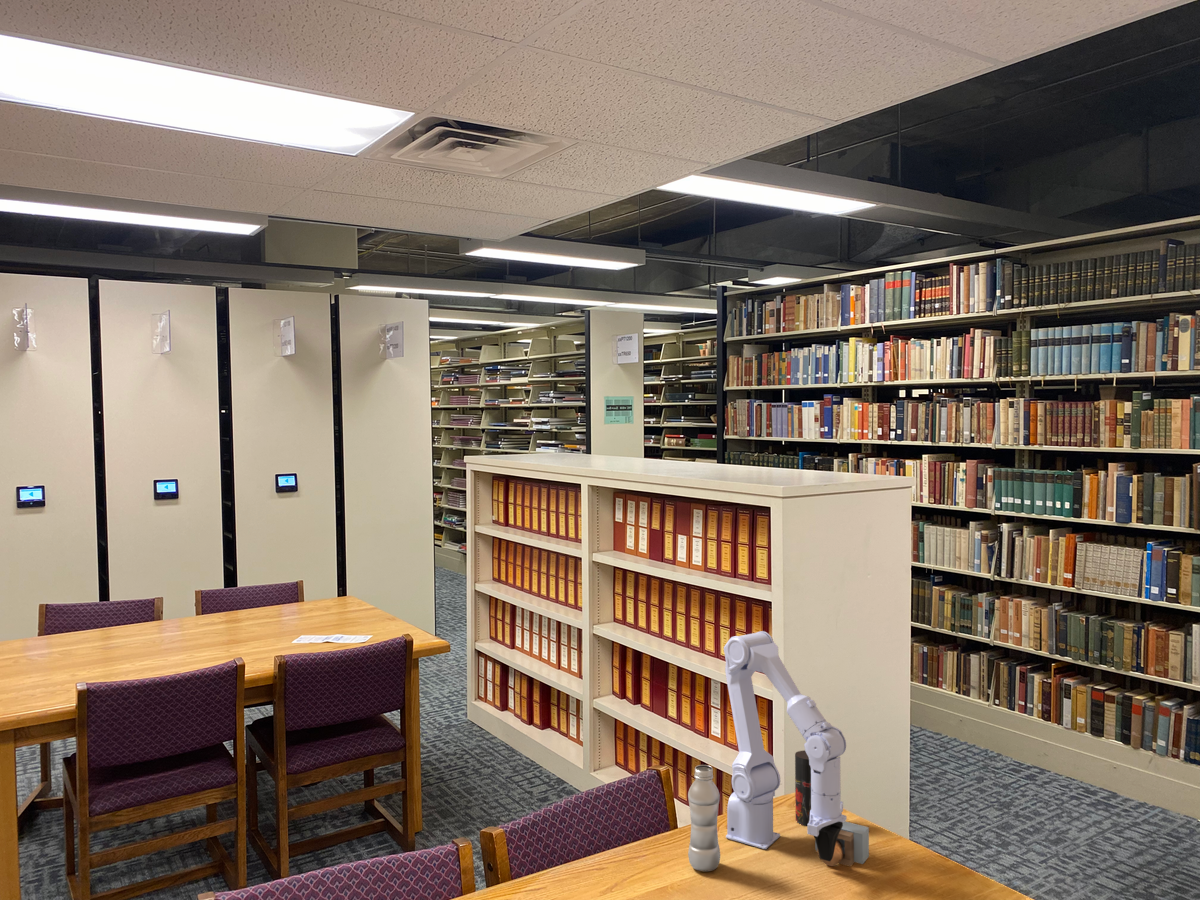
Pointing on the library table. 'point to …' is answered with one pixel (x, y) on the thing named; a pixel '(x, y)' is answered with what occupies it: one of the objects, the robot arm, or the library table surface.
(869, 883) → the library table surface
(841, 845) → the shaft
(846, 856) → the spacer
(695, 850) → the plastic bottle
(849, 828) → the bearing block
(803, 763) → the deodorant
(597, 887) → the library table surface
